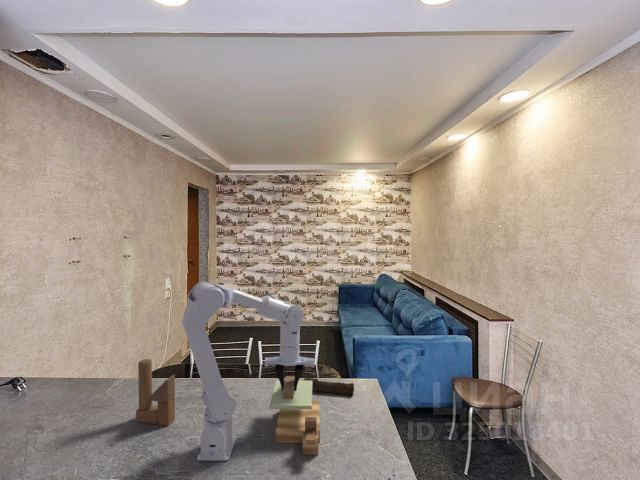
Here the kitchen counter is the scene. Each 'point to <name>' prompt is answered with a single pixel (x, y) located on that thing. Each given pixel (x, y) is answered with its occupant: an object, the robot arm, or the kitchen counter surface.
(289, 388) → the lid
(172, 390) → the wooden block
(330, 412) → the kitchen counter surface
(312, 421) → the l-shaped wooden piece
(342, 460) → the kitchen counter surface
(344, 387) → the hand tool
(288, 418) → the wooden slab
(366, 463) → the kitchen counter surface
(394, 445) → the kitchen counter surface
